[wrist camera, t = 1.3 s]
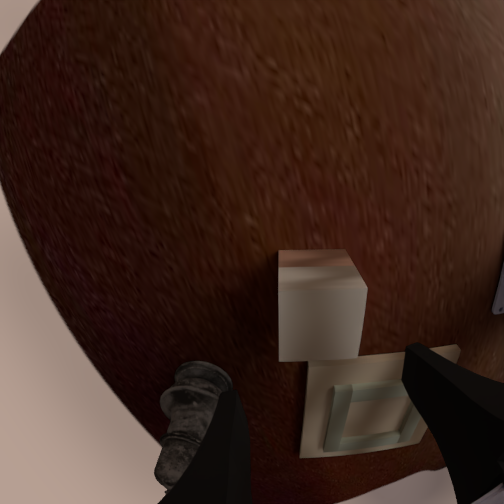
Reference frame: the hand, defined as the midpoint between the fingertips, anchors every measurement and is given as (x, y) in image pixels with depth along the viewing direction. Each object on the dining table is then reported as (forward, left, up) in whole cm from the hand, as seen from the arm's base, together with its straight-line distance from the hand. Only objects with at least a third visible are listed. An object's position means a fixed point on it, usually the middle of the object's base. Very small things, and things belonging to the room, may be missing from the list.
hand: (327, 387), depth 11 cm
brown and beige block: (0, 0, -11) cm, 10 cm away
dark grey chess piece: (+9, +10, -11) cm, 17 cm away
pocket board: (-7, +14, -10) cm, 19 cm away
